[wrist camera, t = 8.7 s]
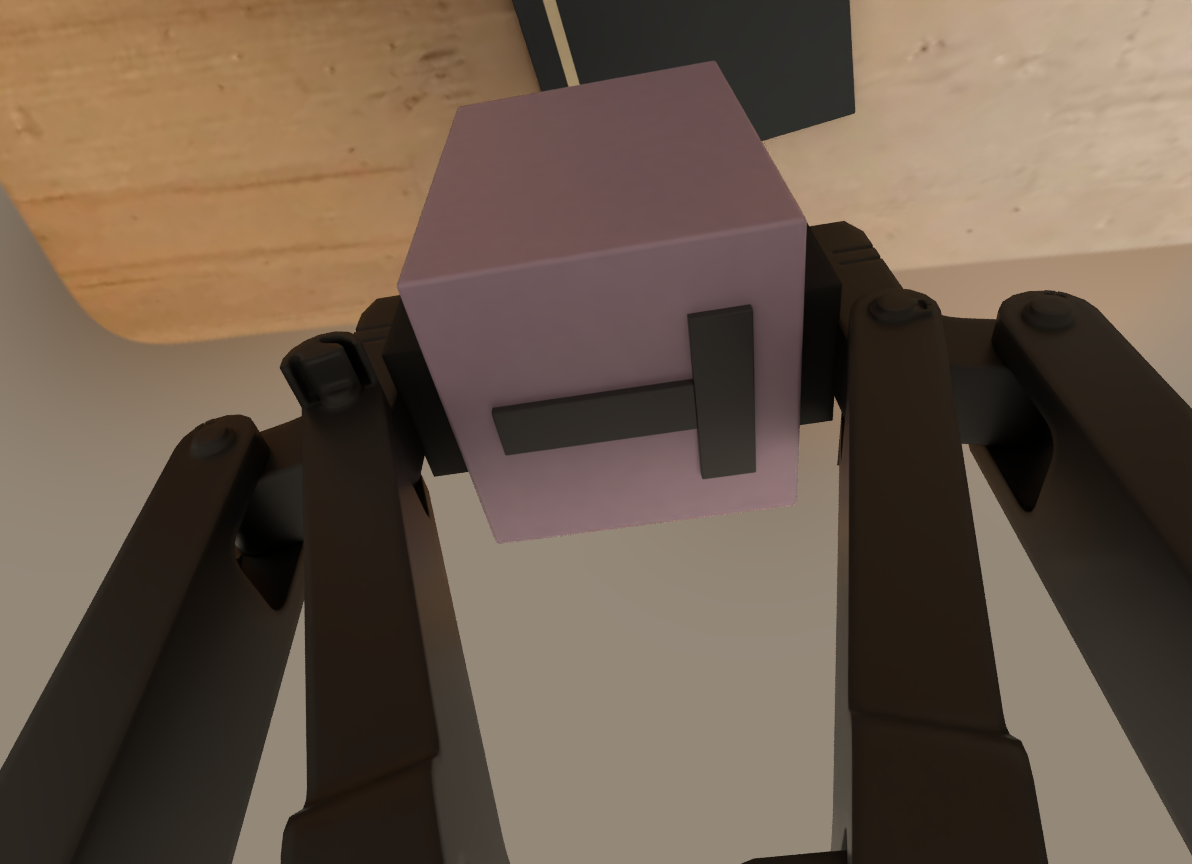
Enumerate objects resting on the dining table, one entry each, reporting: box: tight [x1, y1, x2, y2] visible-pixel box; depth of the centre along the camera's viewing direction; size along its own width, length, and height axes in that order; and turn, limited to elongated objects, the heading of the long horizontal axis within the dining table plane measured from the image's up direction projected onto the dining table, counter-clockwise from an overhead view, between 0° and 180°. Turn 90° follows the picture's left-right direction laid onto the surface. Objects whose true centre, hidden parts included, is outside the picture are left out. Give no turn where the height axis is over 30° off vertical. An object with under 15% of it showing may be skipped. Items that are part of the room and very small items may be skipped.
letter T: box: [397, 61, 807, 544], centre depth 14 cm, size 6×6×8 cm
